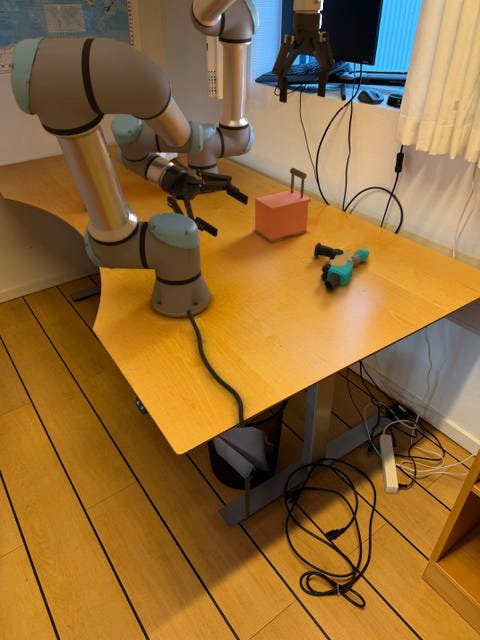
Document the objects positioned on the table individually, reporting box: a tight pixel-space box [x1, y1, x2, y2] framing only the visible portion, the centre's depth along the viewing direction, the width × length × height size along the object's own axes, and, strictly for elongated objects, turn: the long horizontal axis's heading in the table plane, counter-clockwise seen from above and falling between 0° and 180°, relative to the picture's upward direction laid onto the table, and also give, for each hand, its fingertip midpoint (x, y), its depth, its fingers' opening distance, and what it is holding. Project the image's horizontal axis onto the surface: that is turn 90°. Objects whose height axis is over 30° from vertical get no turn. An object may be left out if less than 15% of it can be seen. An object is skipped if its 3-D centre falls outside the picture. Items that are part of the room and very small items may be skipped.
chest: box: [254, 201, 309, 243], centre depth 156 cm, size 14×10×10 cm
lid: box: [254, 167, 312, 211], centre depth 151 cm, size 15×10×9 cm, turn 120°
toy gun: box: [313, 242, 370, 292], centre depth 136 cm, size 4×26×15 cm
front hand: (232, 216), depth 124 cm, fingers open, 13 cm apart
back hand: (302, 99), depth 138 cm, fingers open, 13 cm apart
